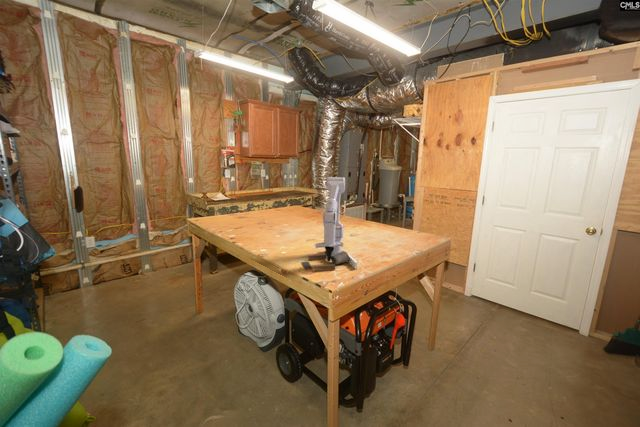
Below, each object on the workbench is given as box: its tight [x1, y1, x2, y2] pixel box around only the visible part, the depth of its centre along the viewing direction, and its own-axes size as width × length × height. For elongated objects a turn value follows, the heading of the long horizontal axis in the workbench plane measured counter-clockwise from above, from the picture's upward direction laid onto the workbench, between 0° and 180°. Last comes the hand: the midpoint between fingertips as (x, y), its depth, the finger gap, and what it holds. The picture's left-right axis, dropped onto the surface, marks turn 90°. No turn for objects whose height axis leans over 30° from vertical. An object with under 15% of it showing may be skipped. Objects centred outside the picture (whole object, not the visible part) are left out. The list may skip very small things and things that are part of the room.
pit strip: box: [301, 261, 313, 271], centre depth 144 cm, size 10×4×1 cm, turn 14°
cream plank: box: [342, 249, 358, 270], centre depth 149 cm, size 20×1×4 cm, turn 14°
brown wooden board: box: [308, 253, 336, 272], centre depth 146 cm, size 17×10×2 cm, turn 14°
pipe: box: [324, 250, 350, 265], centre depth 149 cm, size 6×13×8 cm
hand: (329, 260), depth 147 cm, fingers closed, pressing on pipe
